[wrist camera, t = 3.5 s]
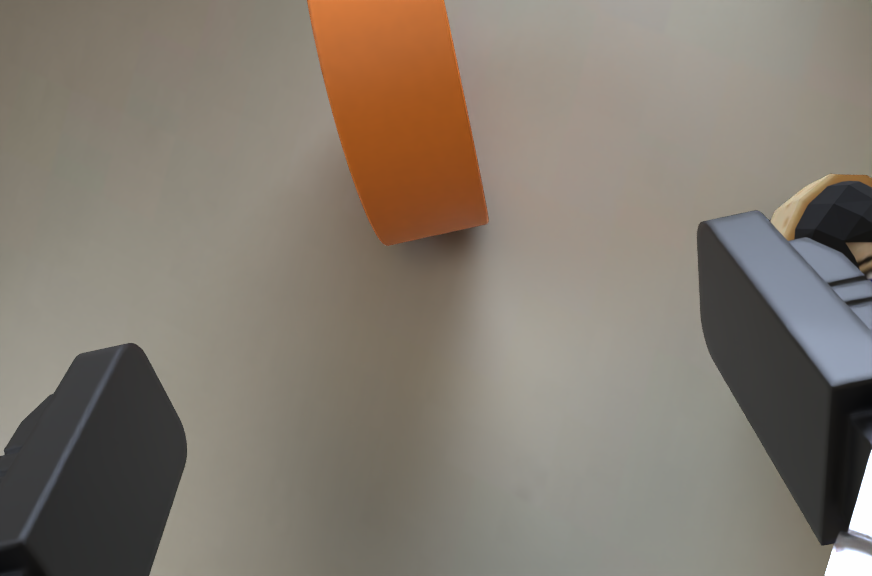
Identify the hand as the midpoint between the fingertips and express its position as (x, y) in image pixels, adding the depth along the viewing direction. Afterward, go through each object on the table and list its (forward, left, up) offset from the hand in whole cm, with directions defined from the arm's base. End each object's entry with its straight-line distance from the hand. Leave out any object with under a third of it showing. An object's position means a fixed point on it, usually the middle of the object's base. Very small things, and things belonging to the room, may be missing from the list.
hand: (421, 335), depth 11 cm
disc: (-6, +7, -13) cm, 16 cm away
